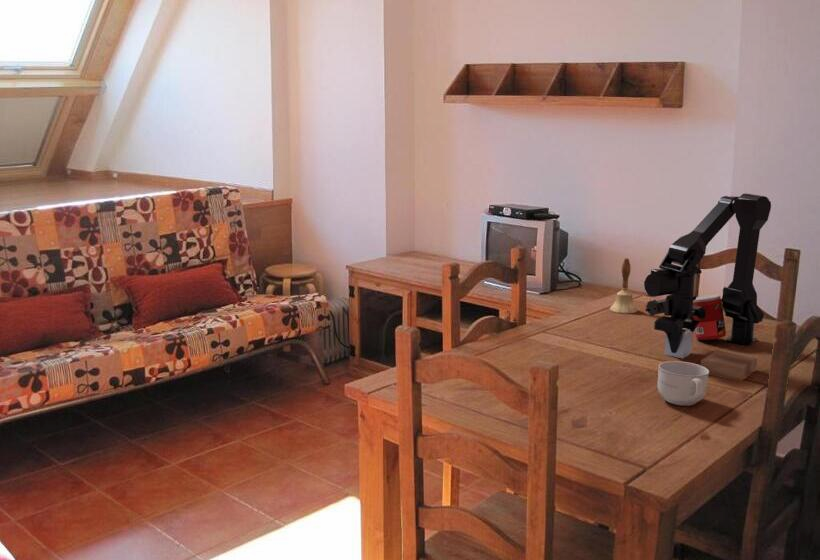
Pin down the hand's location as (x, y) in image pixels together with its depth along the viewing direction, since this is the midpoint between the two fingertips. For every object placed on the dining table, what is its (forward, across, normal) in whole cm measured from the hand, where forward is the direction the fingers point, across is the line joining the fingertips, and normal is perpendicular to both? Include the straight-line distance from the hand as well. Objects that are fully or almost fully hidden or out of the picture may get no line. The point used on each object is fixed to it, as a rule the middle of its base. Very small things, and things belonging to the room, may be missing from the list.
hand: (678, 350), depth 234 cm
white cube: (+1, 0, 0) cm, 1 cm away
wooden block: (+2, +5, +15) cm, 16 cm away
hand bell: (+1, -30, -30) cm, 42 cm away
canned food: (0, -16, +2) cm, 16 cm away
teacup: (+1, +32, +15) cm, 35 cm away
